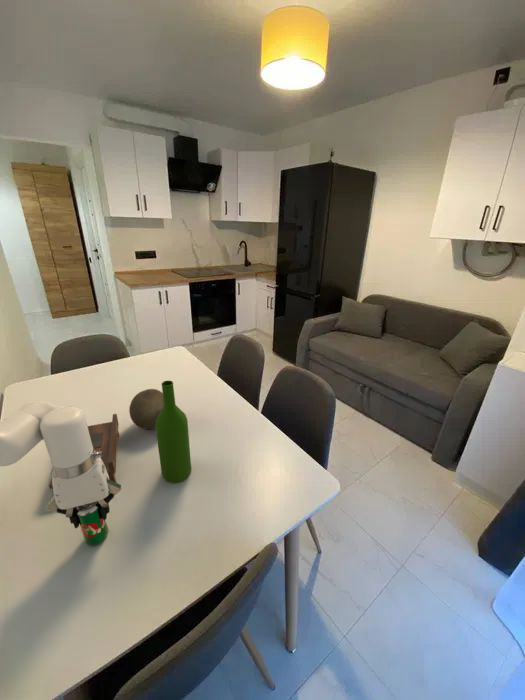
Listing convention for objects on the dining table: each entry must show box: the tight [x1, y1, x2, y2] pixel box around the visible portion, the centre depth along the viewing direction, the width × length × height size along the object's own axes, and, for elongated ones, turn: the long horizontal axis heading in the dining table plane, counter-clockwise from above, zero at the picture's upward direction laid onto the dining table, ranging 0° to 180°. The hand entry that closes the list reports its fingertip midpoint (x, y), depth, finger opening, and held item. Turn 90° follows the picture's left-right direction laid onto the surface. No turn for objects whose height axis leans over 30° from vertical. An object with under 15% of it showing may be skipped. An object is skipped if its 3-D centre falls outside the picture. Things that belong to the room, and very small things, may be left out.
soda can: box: [76, 501, 109, 546], centre depth 70 cm, size 5×5×12 cm
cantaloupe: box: [128, 388, 164, 430], centre depth 108 cm, size 14×14×15 cm
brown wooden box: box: [48, 413, 120, 494], centre depth 92 cm, size 16×24×9 cm, turn 22°
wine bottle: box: [154, 380, 192, 484], centre depth 85 cm, size 9×9×32 cm
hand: (91, 518), depth 69 cm, fingers closed on soda can, 5 cm apart
